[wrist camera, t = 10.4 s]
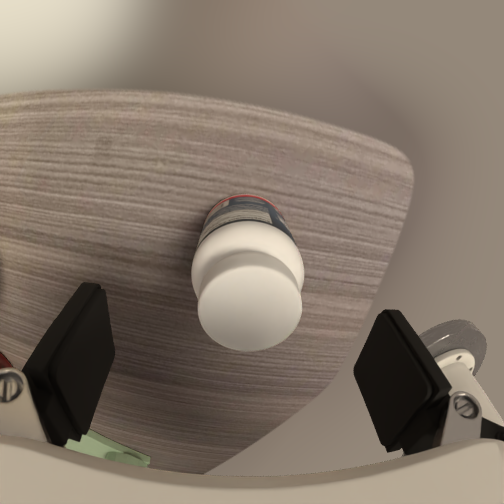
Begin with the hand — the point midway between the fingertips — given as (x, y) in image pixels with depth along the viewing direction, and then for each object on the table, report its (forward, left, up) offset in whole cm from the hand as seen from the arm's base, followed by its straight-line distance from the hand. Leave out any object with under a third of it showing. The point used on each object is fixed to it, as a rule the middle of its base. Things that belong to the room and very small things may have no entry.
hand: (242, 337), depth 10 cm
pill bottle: (0, 0, -11) cm, 11 cm away
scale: (-3, +40, -10) cm, 42 cm away
